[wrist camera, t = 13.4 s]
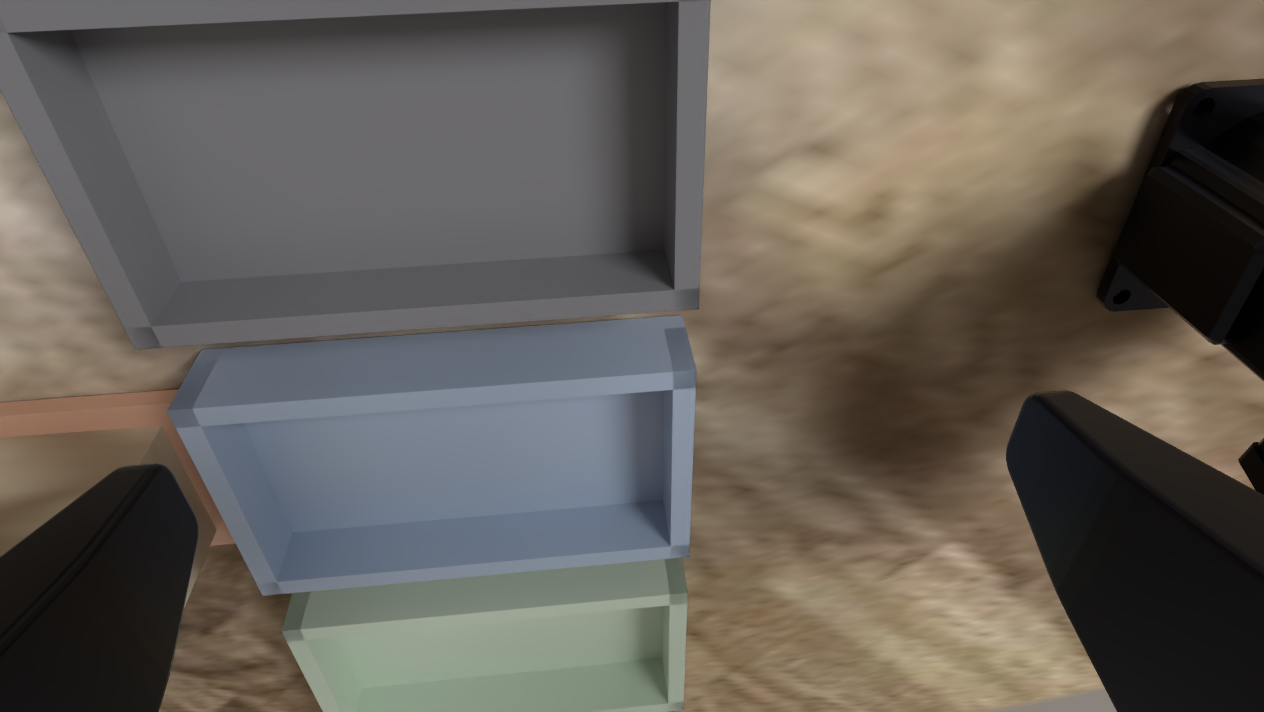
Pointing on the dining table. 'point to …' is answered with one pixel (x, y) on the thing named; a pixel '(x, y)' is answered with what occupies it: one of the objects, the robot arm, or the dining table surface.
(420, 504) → the slate tray
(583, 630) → the green tray
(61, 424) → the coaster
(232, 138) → the charcoal tray
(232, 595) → the dining table surface
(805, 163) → the dining table surface
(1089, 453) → the robot arm
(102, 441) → the letter cube
